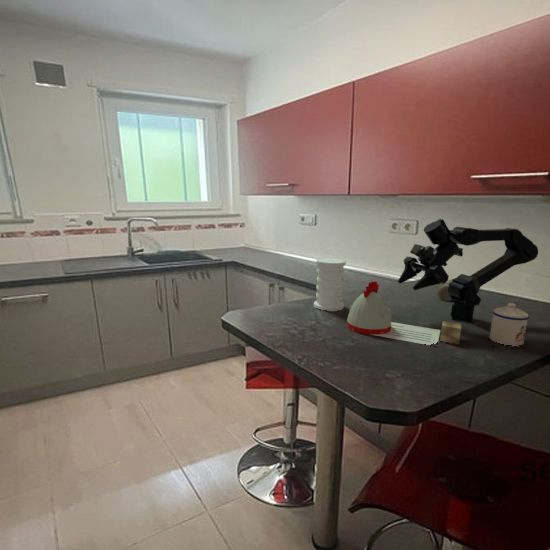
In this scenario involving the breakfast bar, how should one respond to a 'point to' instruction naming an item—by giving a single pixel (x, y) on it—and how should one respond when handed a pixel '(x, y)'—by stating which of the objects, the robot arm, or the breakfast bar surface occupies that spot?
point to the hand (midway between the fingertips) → (405, 285)
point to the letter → (412, 334)
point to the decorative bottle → (444, 292)
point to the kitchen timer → (370, 313)
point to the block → (450, 332)
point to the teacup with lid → (508, 325)
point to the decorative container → (329, 284)
